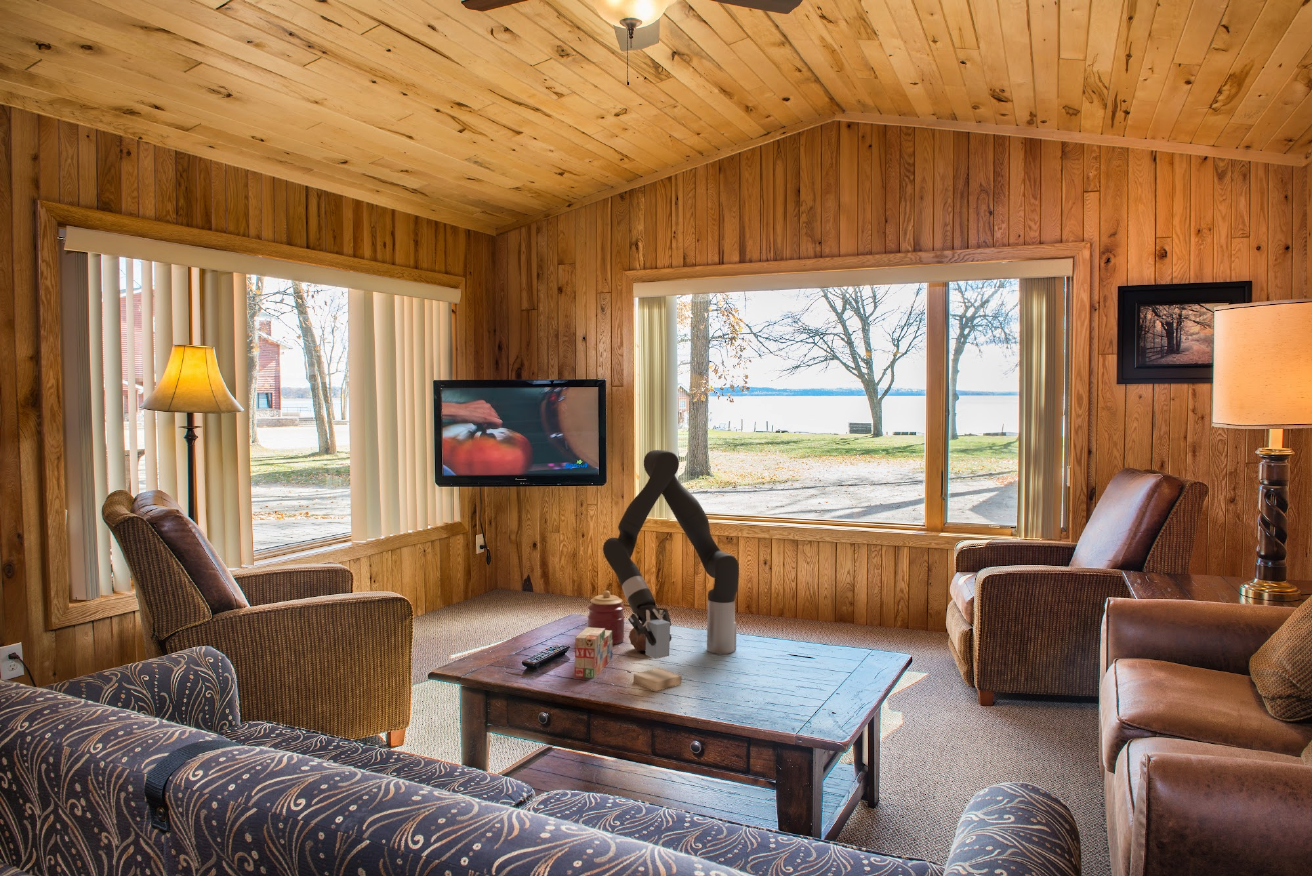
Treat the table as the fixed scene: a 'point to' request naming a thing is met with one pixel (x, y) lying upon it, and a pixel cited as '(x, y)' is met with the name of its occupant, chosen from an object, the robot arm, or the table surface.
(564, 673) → the table surface
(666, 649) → the column
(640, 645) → the decorative rock
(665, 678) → the base slab
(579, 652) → the stack of blocks
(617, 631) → the canister
